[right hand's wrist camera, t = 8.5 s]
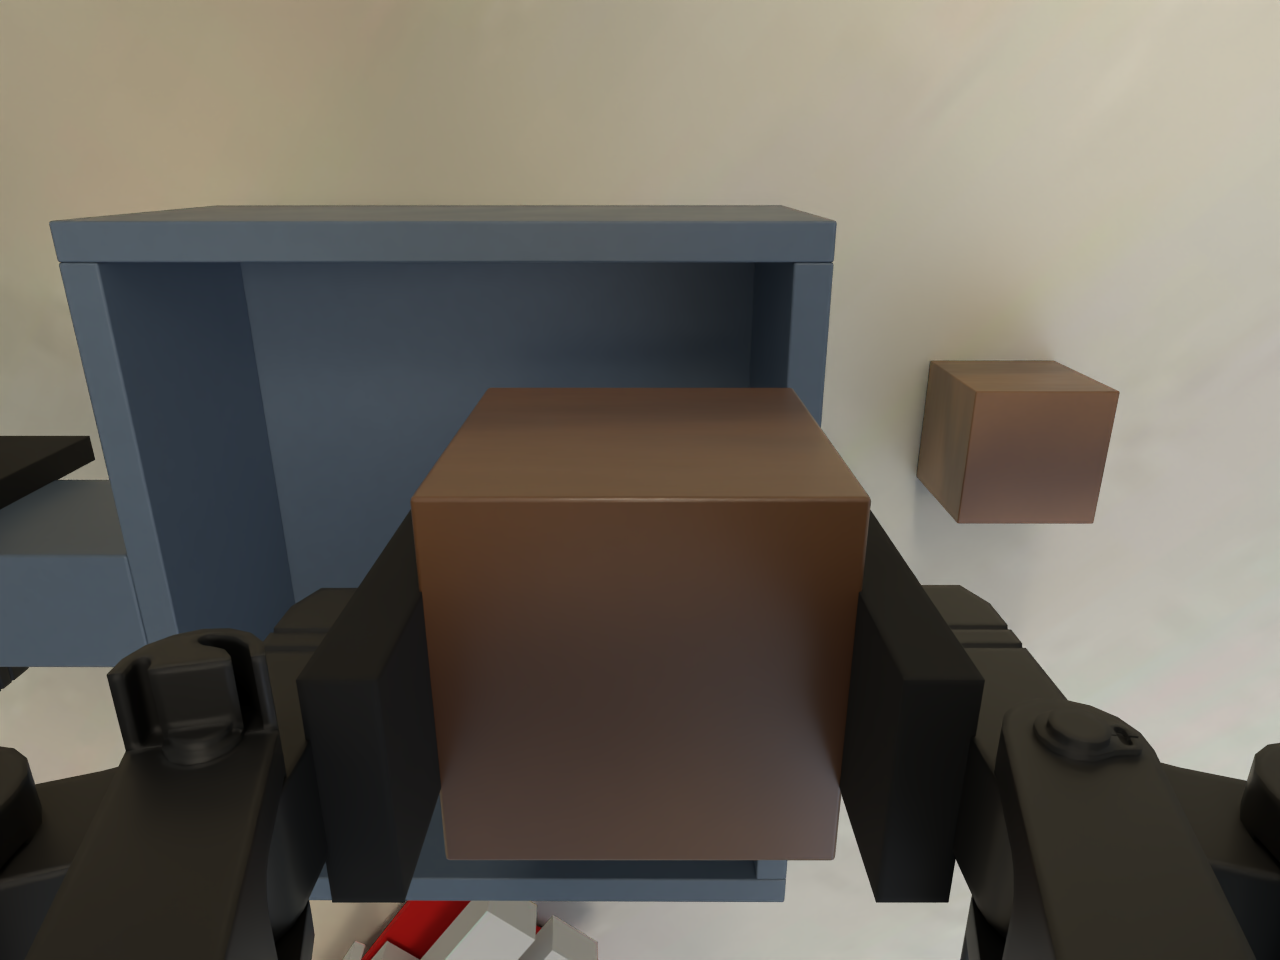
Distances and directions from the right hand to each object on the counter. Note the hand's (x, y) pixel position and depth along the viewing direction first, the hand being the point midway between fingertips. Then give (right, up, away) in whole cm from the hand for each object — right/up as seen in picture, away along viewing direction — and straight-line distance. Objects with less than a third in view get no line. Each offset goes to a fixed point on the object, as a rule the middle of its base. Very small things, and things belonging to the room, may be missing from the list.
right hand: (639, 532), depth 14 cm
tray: (-9, 0, +12) cm, 15 cm away
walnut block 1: (0, 0, 0) cm, 0 cm away
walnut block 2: (+14, +3, +20) cm, 25 cm away
